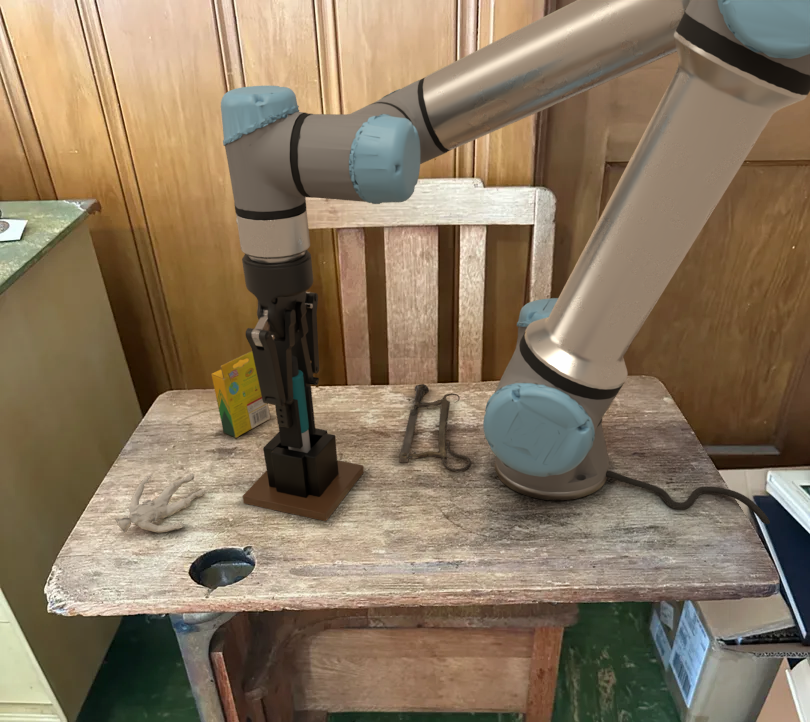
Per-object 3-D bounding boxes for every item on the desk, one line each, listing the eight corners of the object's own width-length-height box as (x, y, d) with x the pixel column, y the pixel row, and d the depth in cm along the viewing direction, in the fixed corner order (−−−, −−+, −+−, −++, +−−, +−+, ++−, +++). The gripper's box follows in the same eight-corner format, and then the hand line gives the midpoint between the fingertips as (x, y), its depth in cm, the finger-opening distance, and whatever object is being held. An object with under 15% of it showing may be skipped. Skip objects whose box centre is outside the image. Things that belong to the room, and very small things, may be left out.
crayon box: (258, 413, 118) (247, 343, 111) (271, 419, 117) (261, 347, 110) (221, 432, 114) (207, 360, 107) (235, 438, 112) (221, 366, 105)
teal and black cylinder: (315, 448, 99) (305, 355, 91) (305, 459, 97) (293, 365, 89) (295, 444, 100) (283, 351, 92) (284, 455, 98) (271, 362, 90)
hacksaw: (415, 389, 124) (415, 381, 123) (478, 391, 122) (479, 383, 121) (395, 469, 105) (395, 460, 104) (470, 473, 104) (470, 464, 103)
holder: (364, 472, 104) (360, 426, 100) (326, 521, 96) (321, 473, 91) (286, 457, 108) (280, 412, 104) (243, 503, 99) (234, 456, 95)
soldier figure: (219, 510, 100) (156, 536, 89) (197, 527, 102) (133, 555, 92) (186, 460, 100) (119, 481, 89) (165, 479, 102) (97, 501, 92)
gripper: (280, 228, 90) (301, 405, 104) (206, 272, 78) (241, 465, 92) (338, 233, 87) (351, 414, 102) (270, 279, 76) (295, 476, 90)
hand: (298, 438), depth 97 cm, fingers closed on teal and black cylinder, 3 cm apart
